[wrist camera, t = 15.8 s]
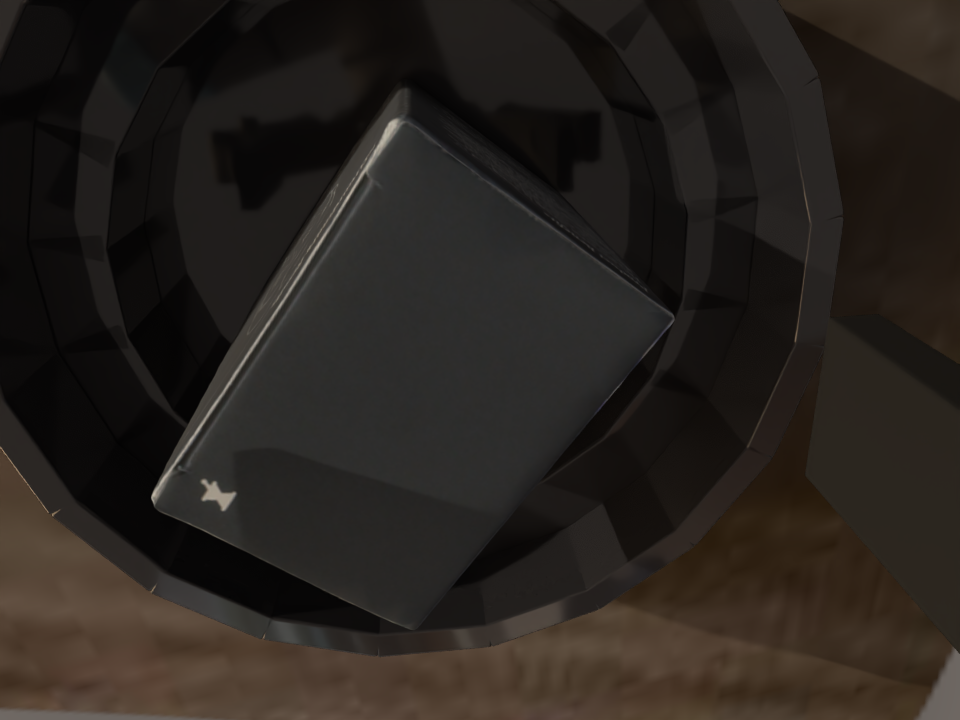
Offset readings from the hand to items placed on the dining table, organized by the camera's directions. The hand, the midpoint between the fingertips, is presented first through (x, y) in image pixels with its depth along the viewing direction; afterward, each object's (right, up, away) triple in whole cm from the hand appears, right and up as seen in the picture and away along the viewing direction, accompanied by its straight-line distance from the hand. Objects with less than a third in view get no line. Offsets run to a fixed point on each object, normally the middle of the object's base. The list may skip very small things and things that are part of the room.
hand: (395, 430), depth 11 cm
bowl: (-1, +5, +11) cm, 13 cm away
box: (-1, +4, +11) cm, 12 cm away
